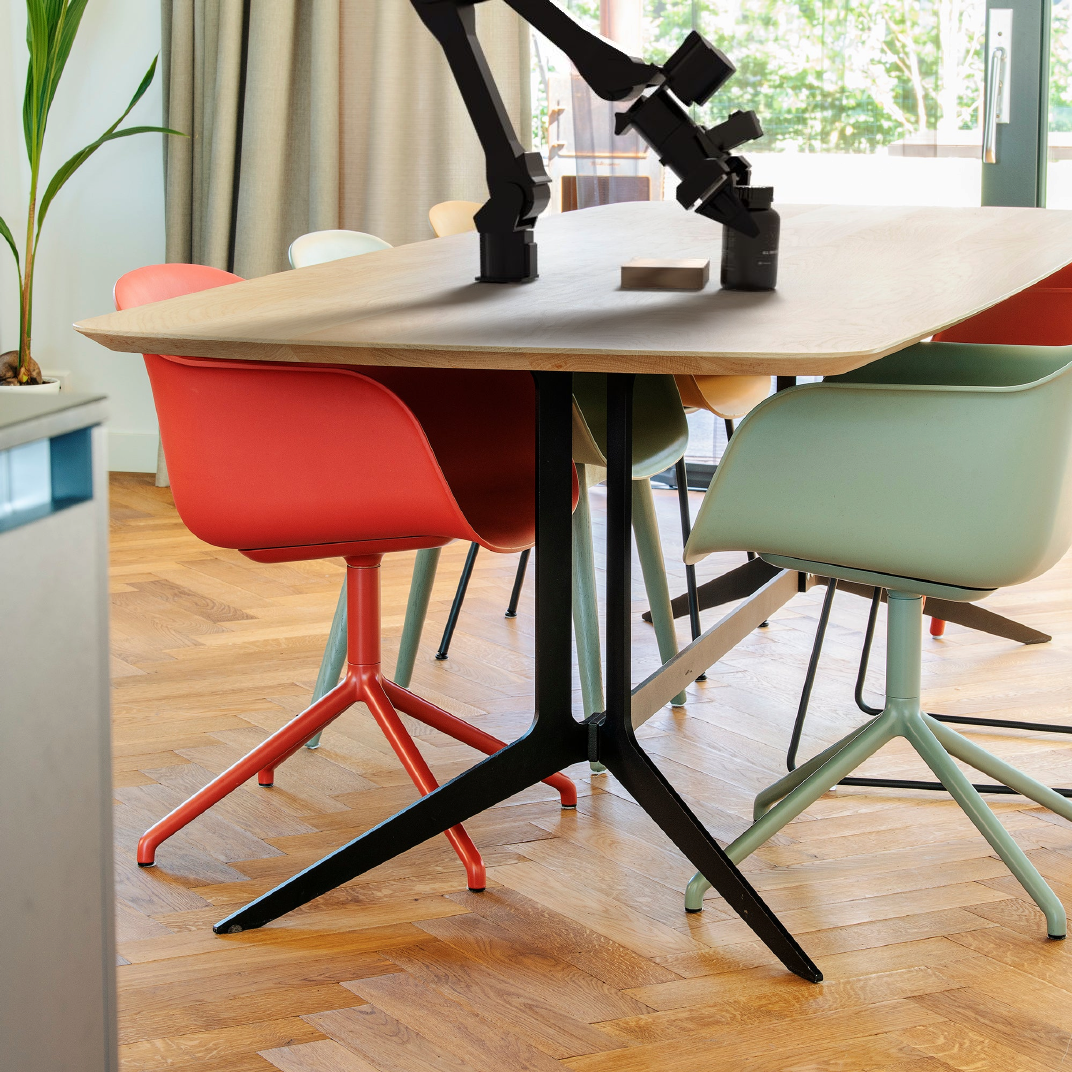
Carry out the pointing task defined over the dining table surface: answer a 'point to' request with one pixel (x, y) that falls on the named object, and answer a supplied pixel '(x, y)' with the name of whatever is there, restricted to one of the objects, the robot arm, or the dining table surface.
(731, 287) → the supplement bottle
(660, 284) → the tan flat square block
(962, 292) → the dining table surface
